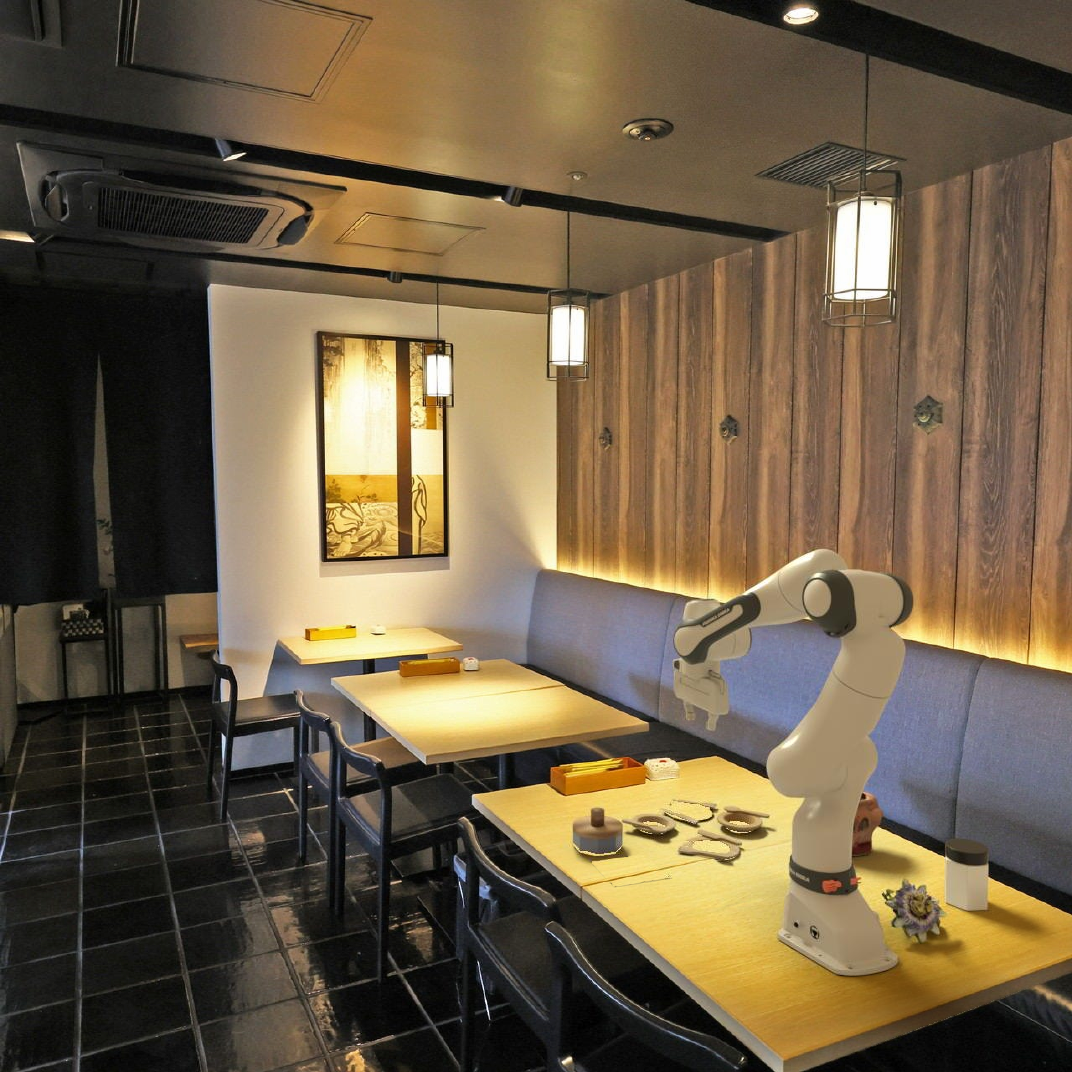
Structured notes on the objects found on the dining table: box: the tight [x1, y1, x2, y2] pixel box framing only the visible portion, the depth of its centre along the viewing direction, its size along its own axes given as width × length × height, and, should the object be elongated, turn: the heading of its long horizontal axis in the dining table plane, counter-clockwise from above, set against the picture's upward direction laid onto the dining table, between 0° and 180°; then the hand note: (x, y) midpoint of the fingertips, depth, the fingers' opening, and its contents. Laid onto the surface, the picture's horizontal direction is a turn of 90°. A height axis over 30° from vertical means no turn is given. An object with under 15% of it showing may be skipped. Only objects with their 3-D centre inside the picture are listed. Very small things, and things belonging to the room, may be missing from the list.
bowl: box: [572, 831, 624, 854], centre depth 205 cm, size 11×11×5 cm
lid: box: [572, 807, 624, 839], centre depth 205 cm, size 12×12×5 cm
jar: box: [944, 838, 990, 912], centre depth 179 cm, size 9×8×12 cm
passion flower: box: [881, 877, 947, 944], centre depth 167 cm, size 11×11×12 cm
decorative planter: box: [852, 791, 884, 857], centre depth 205 cm, size 20×12×14 cm, turn 109°
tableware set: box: [621, 798, 771, 861], centre depth 217 cm, size 35×29×4 cm
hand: (700, 724), depth 201 cm, fingers open, 8 cm apart
